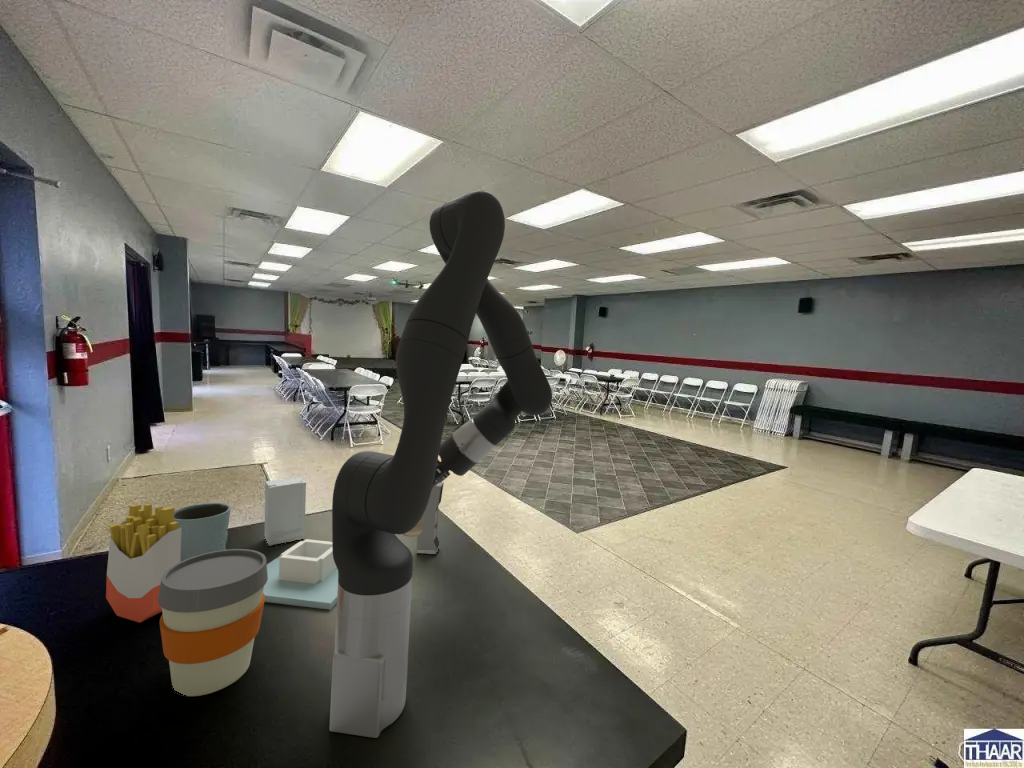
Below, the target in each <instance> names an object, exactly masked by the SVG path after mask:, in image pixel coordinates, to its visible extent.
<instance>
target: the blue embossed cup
mask: <svg viewBox="0 0 1024 768" xmlns="http://www.w3.org/2000/svg"><path fill="white" fill-rule="evenodd" d="M231 509H232V508H231V505H229V504H226V503H220V502H205V503H198V504H192V505H187V506H184V507H181V508H179V509H176V510H174V522H179V525H178V527H180V528H181V555H180V562H181V561H183V560H186V559H188V558H191V557H194V556H197V555H201V554H205V553H209V552H214V551H220V550H227V548H226V545H227V542H228V534H229V533H228V530H229V529H228V528H229V525H230V524H229V523H230V517H231Z"/></svg>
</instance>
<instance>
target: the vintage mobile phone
mask: <svg viewBox="0 0 1024 768" xmlns="http://www.w3.org/2000/svg"><path fill="white" fill-rule="evenodd" d="M443 490H444V481H442V482H441V483H438V484H437V485H436V486H435V487H433V488H432V491H431V495H430V498H429V501H428V504H427V507H426V510H425V512H424V514H423V530H422V534H421V535H419V536H416V537H417V538H416V539H417V540H416V551H417V550H434V551H437V549H438V546H439V543H440V541H439V538H438V523H439V520H438V519H439V505H441V502H442V497H443V496H442V495H443Z"/></svg>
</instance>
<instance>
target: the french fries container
mask: <svg viewBox="0 0 1024 768" xmlns="http://www.w3.org/2000/svg"><path fill="white" fill-rule="evenodd" d="M128 509H129V510H128V516H126V517H125V521H122V522H121V523H120V524H118V523H115V524H111V525H110V526H109V532H110V536H109V544H108V545H109V546H108V554H107V555H108V559H107V568H106V587H105V588H106V590H105V592H106V593H105V599H106V601H107V602H108V603H109V606H111V609H112V610H113V612H114V614H115V615H116V616H118V617H119V618H123V619H127V620H130V621H134V622H136V623H139V624H140V623H143V622H144V621H146V620H149V619H150V618H151V619H152V617H155V616H157V615H158V614H160V613H162V607H161V606H160V605H159V604H158V595H159V589H160V583H161V578H162V575H163V574H164V573H165V571H167V570H168V569H169V568H170V567H172V566H174V565H175V564H177V563H179V562H180V555H181V528H180V527H178V525H179V522H174V511H175V507H170V506H168V507H165V508H164V507H163V506H158V507H155V508H154V514H153V504H152V503H148V504H144V505H143V509H142V504H138V503H137V504H132V505H129V506H128Z"/></svg>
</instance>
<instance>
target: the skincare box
mask: <svg viewBox="0 0 1024 768" xmlns="http://www.w3.org/2000/svg"><path fill="white" fill-rule="evenodd" d="M306 496H307V482H306V481H305V480H304V479H303V477H301V476H296V477H295V476H294V477H289V478H283V479H280V478H279V479H274V480H265V481H264V536H265V538H264V540H265V539H266V540H265V542H266V541H267V542H266V544H267V543H268V544H269V545H270V544H275V543H280V542H284V541H287V540H290V539H295V538H298V537H304V536H306V502H307V501H306ZM300 516H301V517H300Z"/></svg>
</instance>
